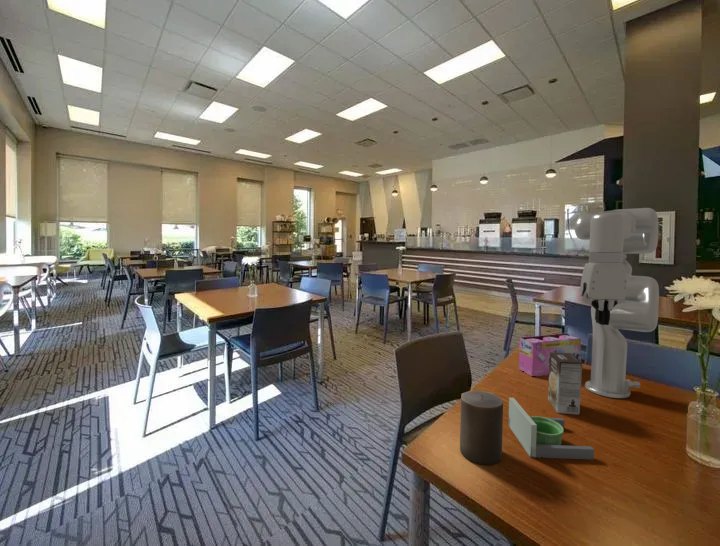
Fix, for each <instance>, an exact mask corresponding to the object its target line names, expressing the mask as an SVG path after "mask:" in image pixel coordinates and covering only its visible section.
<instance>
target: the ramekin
mask: <svg viewBox="0 0 720 546" xmlns="http://www.w3.org/2000/svg"><path fill="white" fill-rule="evenodd" d="M529 417H530V418H531V419H532V420H533V421H534V423H535V424H536V425H537V432H536V445H562V439H563V435H564V433H565V432H564V429H565V428H564V429H563V427H562V426H561V425H560V424H559V423H557V422H555V421H553V420H551V419H548V418H549V417H545V416H536V415H534V416H529Z"/></svg>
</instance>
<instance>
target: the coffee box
mask: <svg viewBox="0 0 720 546" xmlns="http://www.w3.org/2000/svg"><path fill="white" fill-rule="evenodd" d="M582 373H583V362H582V361H581V360H580V361H579V360H578V359H577V358H576V357H575V356H574V355H572V354H571V353H553V352H550V363H549V375H548V390H547V391H548V393H547V401H549V403H550V405H551V406H552V407H553V409H554V410H555V412H556V413H558V414H566V415H567V414H568V415H578V416H579V415H580V412H581V411H580V410H581V394H582V393H581V391H582V378H583V377H582V376H583V375H582Z"/></svg>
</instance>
